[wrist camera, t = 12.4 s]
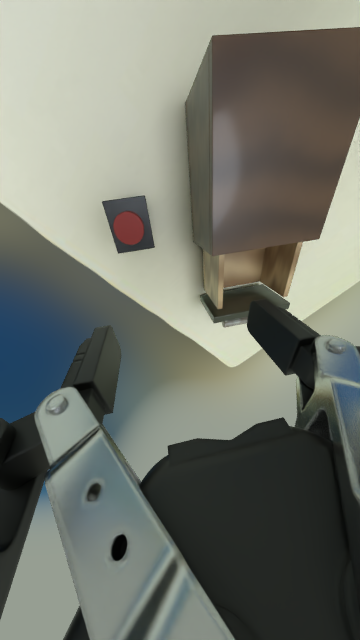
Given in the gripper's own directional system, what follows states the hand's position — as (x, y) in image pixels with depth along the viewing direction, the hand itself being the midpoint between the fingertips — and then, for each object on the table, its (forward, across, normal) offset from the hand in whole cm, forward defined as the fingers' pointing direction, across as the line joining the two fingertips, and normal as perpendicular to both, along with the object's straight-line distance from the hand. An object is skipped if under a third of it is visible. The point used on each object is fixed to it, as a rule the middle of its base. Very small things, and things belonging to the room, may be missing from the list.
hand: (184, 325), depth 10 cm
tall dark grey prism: (+23, +2, -5) cm, 24 cm away
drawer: (+22, -14, +6) cm, 27 cm away
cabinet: (+23, -13, -8) cm, 28 cm away
